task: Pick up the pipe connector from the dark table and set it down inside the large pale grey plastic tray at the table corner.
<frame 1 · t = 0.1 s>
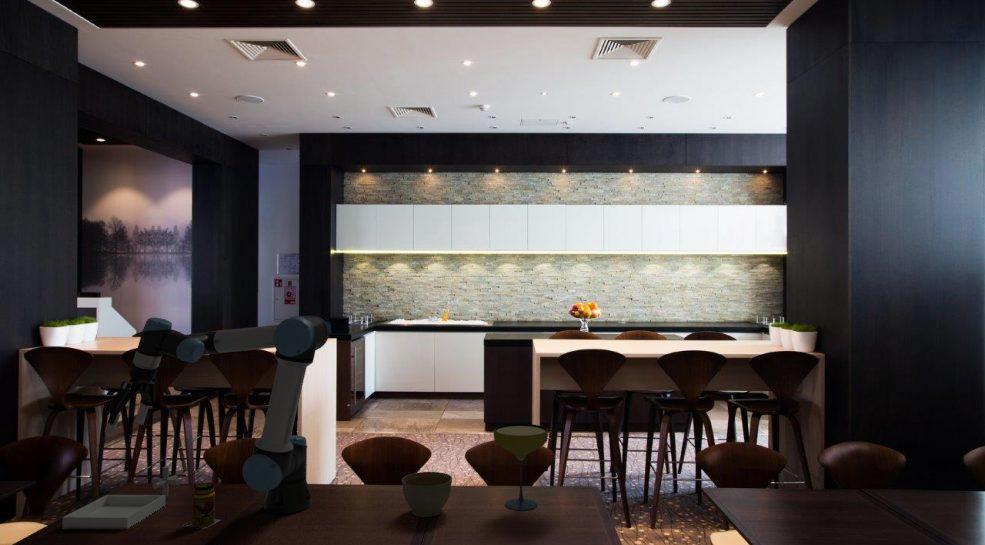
hand: (124, 428, 193), 28 cm above the table, tool tilted 20°, fingers open, 13 cm apart
condiment: (202, 524, 186), on the table
pipe connector: (165, 496, 211), on the table
tray: (116, 516, 192), on the table
cocktail glass: (521, 505, 201), on the table
planter bowl: (427, 513, 195), on the table
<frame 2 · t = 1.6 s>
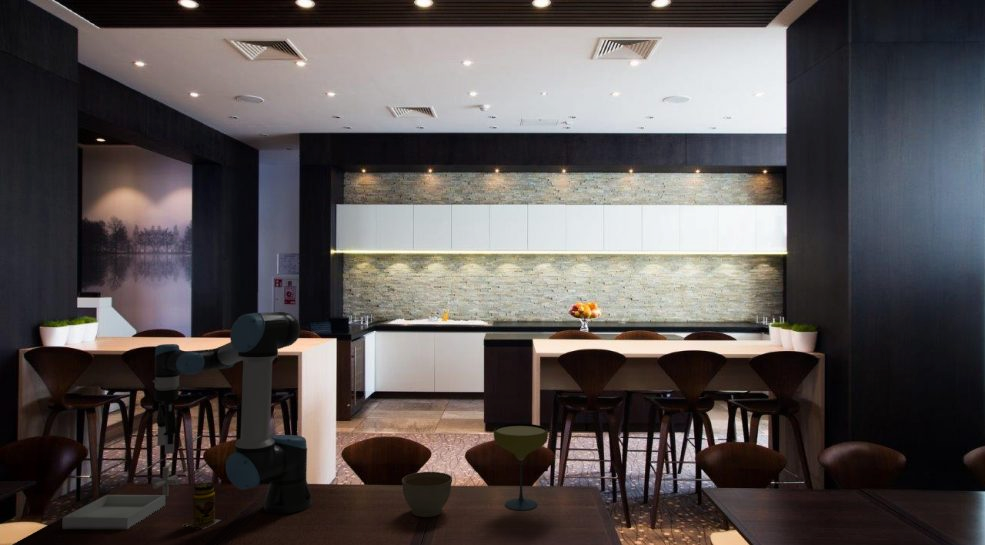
hand: (165, 449, 212), 16 cm above the table, tool pointing down, fingers open, 13 cm apart
nothing on the table moved.
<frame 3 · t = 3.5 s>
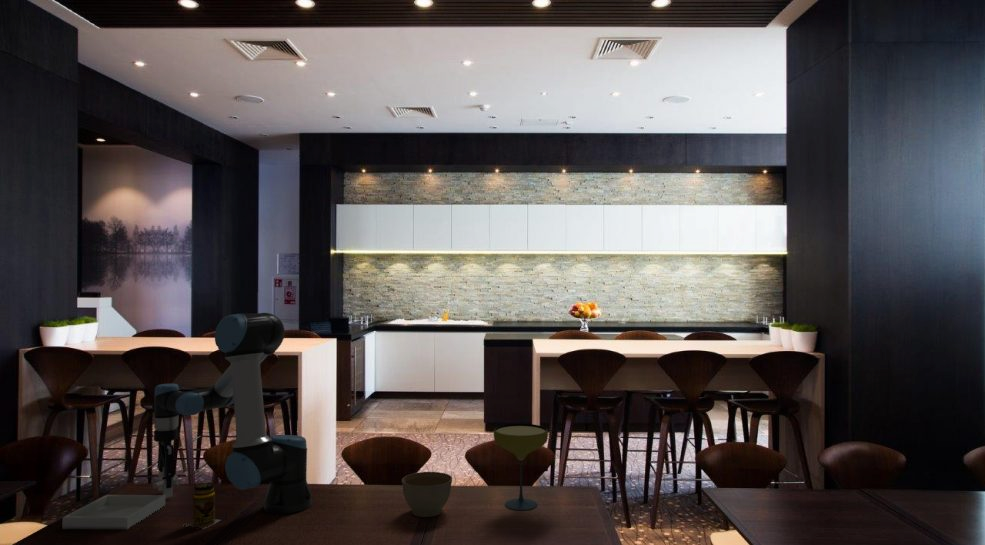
hand: (165, 493, 211), 1 cm above the table, tool pointing down, fingers closed on pipe connector, 9 cm apart
pipe connector: (165, 496, 211), on the table, touching gripper
everything else where it was.
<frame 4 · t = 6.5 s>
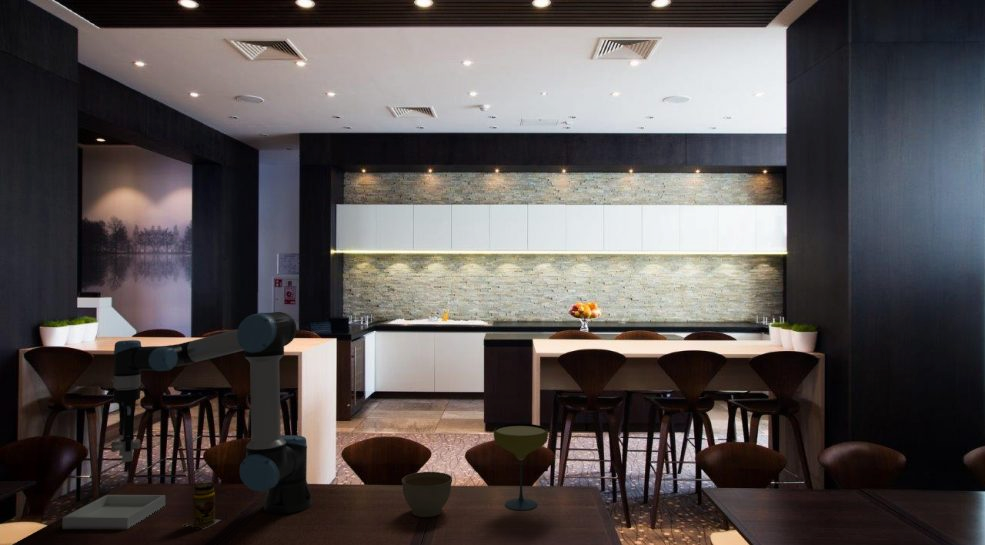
hand: (125, 458, 196), 18 cm above the table, tool pointing down, fingers closed on pipe connector, 9 cm apart
pipe connector: (125, 461, 196), point 16 cm above the table, touching gripper
everything else where it was.
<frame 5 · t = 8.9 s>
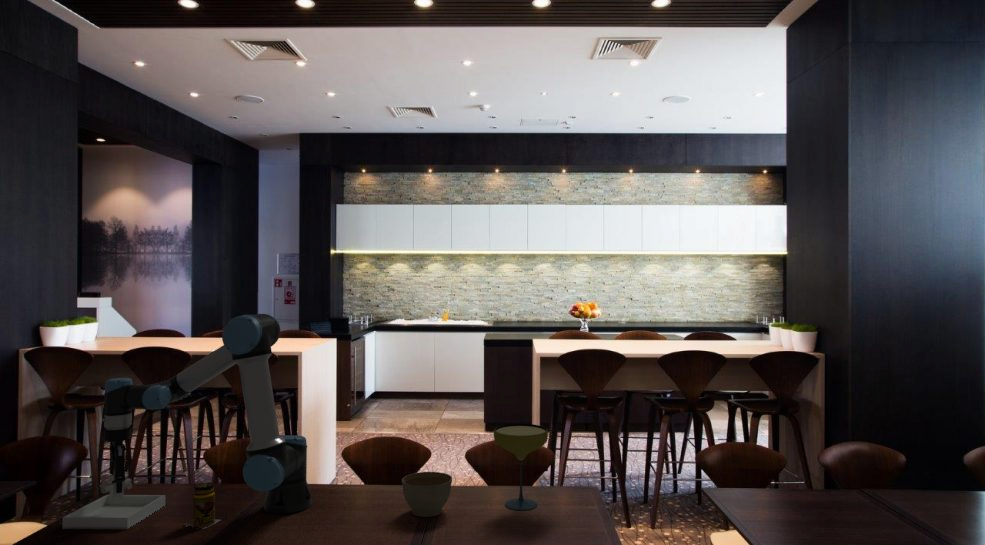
hand: (116, 498, 192), 6 cm above the table, tool pointing down, fingers closed on pipe connector, 9 cm apart
pipe connector: (116, 502, 192), point 5 cm above the table, touching gripper
everything else where it was.
when the fingers open (4 cm above the table, at t = 9.8 s): pipe connector drops 2 cm, resting on tray.
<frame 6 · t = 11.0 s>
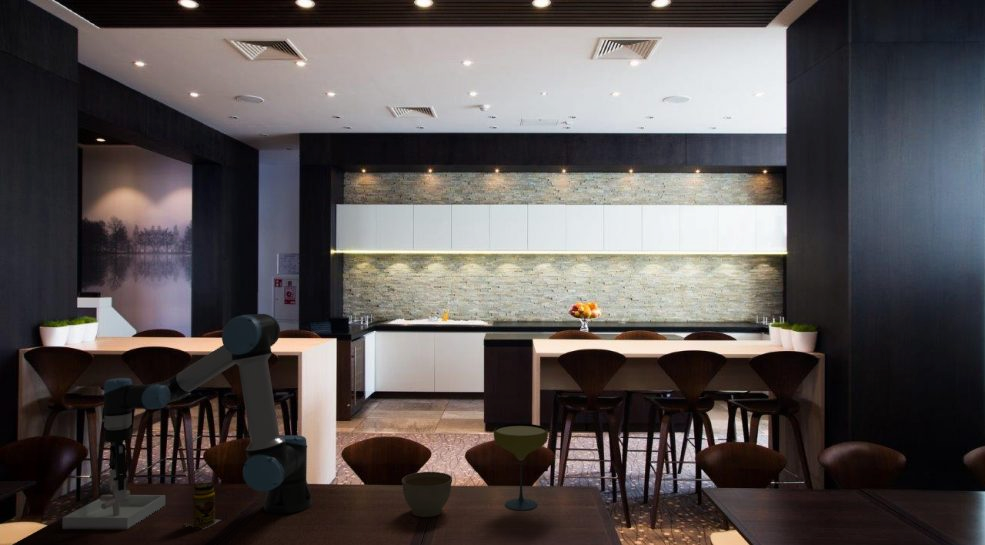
hand: (117, 494, 192), 7 cm above the table, tool pointing down, fingers open, 13 cm apart
pipe connector: (116, 515, 192), point 1 cm above the table, touching tray
everything else where it was.
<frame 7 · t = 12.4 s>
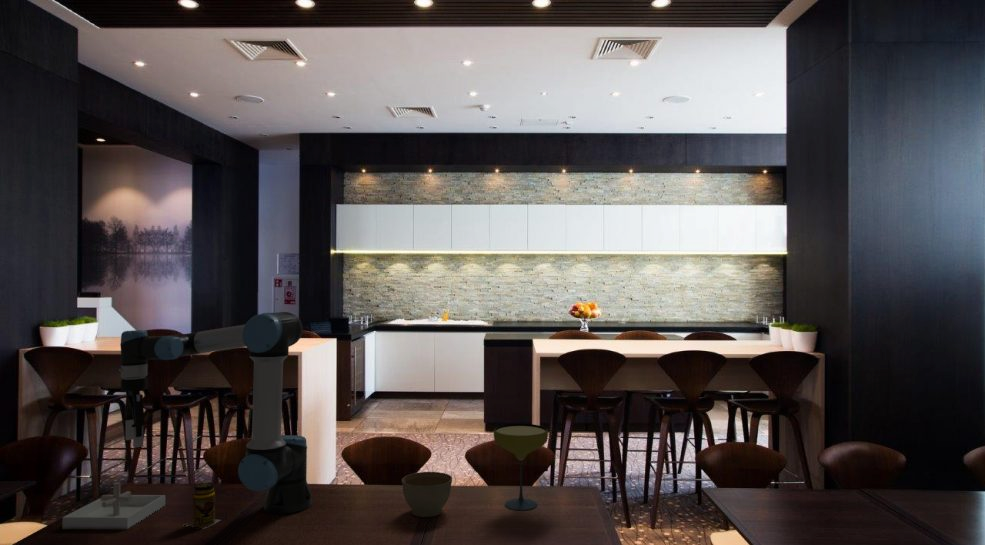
hand: (134, 443, 197), 22 cm above the table, tool pointing down, fingers open, 13 cm apart
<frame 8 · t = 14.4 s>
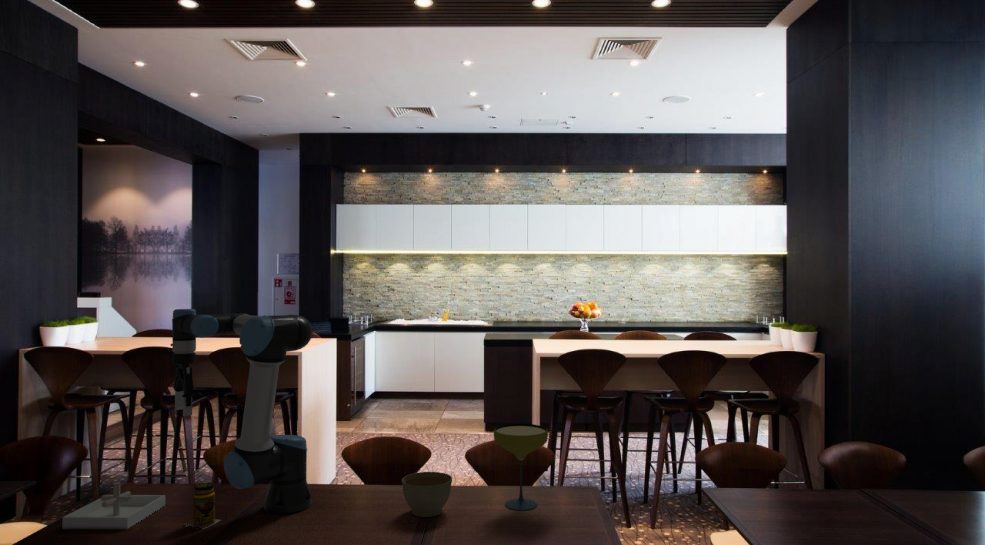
hand: (183, 412, 214), 29 cm above the table, tool pointing down, fingers open, 13 cm apart
nothing on the table moved.
at the end: pipe connector 0.0 cm from the tray (horizontally); pipe connector resting on tray; the gripper is holding nothing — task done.
